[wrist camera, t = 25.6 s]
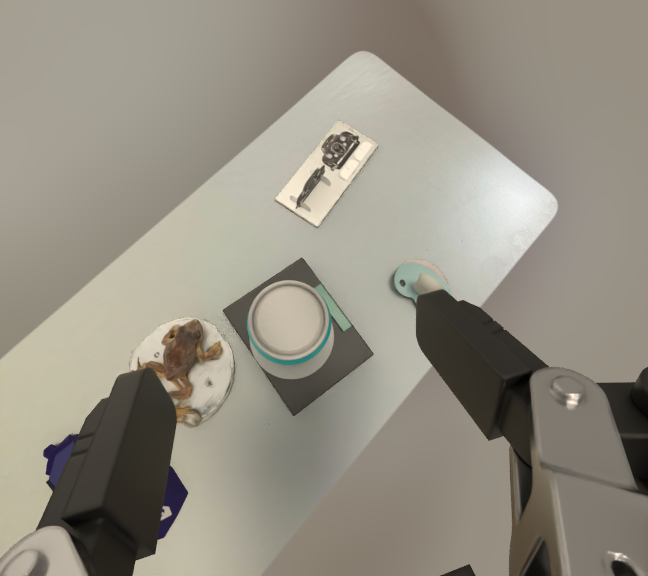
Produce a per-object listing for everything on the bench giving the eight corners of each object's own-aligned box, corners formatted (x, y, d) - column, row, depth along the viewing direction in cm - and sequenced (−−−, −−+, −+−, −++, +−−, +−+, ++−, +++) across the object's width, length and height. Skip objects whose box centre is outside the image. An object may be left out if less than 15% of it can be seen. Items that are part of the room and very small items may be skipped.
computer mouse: (148, 568, 32) (127, 597, 28) (21, 496, 33) (-17, 514, 29) (199, 475, 34) (186, 489, 30) (78, 409, 35) (50, 415, 31)
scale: (370, 354, 38) (376, 353, 35) (294, 413, 36) (293, 417, 33) (302, 262, 40) (302, 254, 37) (226, 312, 38) (220, 308, 35)
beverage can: (272, 307, 36) (252, 268, 21) (323, 315, 36) (339, 282, 21) (262, 360, 34) (234, 357, 20) (315, 368, 35) (326, 371, 20)
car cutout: (317, 228, 41) (319, 212, 37) (275, 200, 42) (272, 181, 38) (377, 146, 45) (386, 123, 40) (338, 122, 45) (342, 96, 41)
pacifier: (408, 251, 42) (383, 286, 40) (428, 230, 36) (399, 271, 34) (456, 284, 41) (432, 321, 40) (483, 269, 35) (457, 312, 34)
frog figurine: (157, 301, 38) (141, 294, 34) (252, 337, 38) (247, 334, 34) (108, 398, 35) (86, 402, 31) (210, 437, 35) (200, 445, 31)
